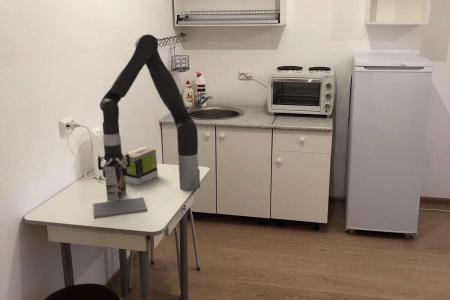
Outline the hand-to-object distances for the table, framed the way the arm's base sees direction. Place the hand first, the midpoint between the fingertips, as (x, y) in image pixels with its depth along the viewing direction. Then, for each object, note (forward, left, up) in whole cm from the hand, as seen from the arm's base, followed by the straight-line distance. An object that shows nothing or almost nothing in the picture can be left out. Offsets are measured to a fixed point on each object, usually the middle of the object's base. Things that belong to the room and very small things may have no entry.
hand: (115, 176), depth 222 cm
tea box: (-13, -19, -10) cm, 25 cm away
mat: (0, +14, -10) cm, 17 cm away
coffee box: (0, 0, -10) cm, 10 cm away
